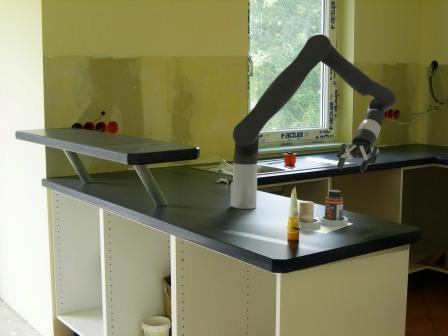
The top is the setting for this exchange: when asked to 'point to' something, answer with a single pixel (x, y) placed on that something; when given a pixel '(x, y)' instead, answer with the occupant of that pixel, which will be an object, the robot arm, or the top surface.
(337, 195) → the supplement bottle
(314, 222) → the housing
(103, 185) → the top surface
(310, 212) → the dowel
